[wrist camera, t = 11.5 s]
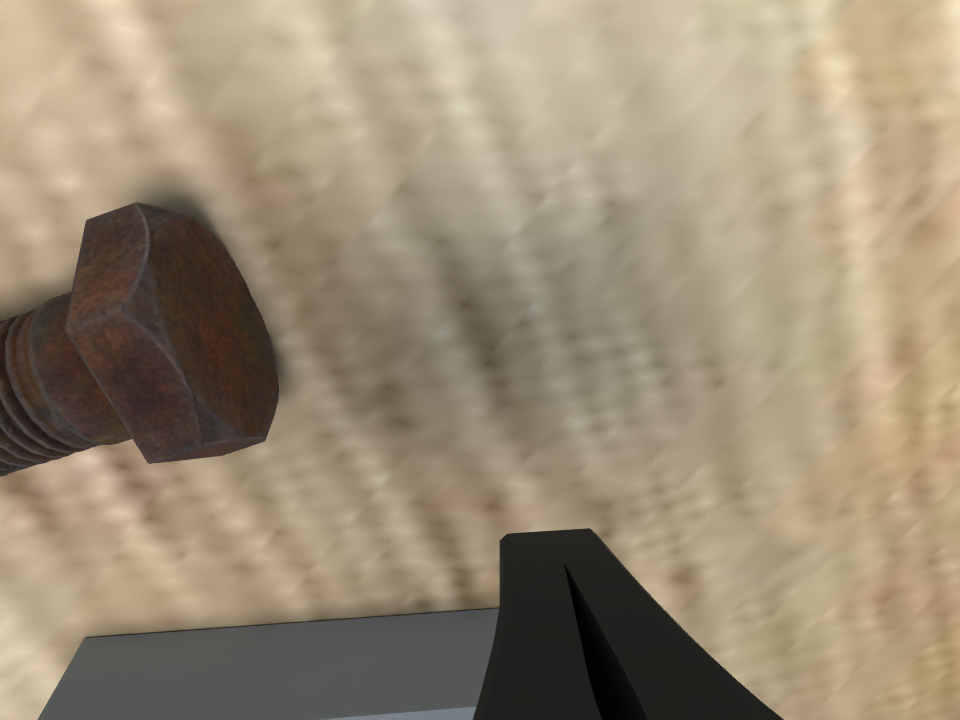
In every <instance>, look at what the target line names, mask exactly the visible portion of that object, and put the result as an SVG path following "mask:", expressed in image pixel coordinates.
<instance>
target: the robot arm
mask: <svg viewBox="0 0 960 720" xmlns="http://www.w3.org/2000/svg"><path fill="white" fill-rule="evenodd" d="M473 720H784V719H782V718H781V717H780V716H778V715H777V714H776V713H775V712H773V711H772V710H771V709H770V708H768V707H767V706H766V705H765V704H764V703H763V702H761V701H760V700H759V699H758V698H757V697H755V696H754V695H753V694H752V693H751V692H750V691H749V690H747V689H746V688H745V687H744V686H743V685H742V684H741V683H739V682H738V681H737V680H736V679H735V678H734V677H733V676H732V675H731V674H730V673H729V672H727V671H726V670H725V669H724V668H723V667H722V666H721V665H720V664H719V663H718V662H717V661H715V660H714V659H713V658H712V657H711V656H710V655H709V654H708V653H707V652H706V651H705V650H704V649H703V648H702V647H701V646H700V645H699V644H698V643H697V642H696V641H695V640H693V639H692V638H691V637H690V636H689V635H688V634H687V633H686V632H685V631H684V630H683V628H682V627H681V626H680V625H679V624H678V623H677V622H676V621H675V620H674V619H673V618H672V617H671V616H670V615H669V614H668V613H667V612H666V611H665V610H664V609H663V608H662V607H661V606H660V605H659V604H658V603H657V602H656V601H655V600H654V599H653V598H652V597H651V595H650V594H649V593H648V592H647V591H646V590H645V589H644V588H643V587H642V586H641V585H640V583H639V582H638V581H637V580H636V579H635V578H634V577H633V576H632V575H631V574H630V572H629V571H628V570H627V569H626V568H625V567H624V566H623V565H622V563H621V562H620V561H619V560H618V559H617V558H616V556H615V555H614V554H613V553H612V552H611V551H610V550H609V548H608V547H607V546H606V545H605V544H604V543H603V541H602V540H601V539H600V538H599V537H598V536H597V534H595V533H594V532H593V531H592V530H591V529H590V528H588V529H573V530H557V531H542V532H527V533H511V534H507V535H506V536H504V537H503V538H502V539H501V540H500V607H499V612H498V618H497V624H496V630H495V635H494V641H493V645H492V650H491V654H490V658H489V662H488V666H487V670H486V673H485V677H484V681H483V685H482V689H481V693H480V697H479V700H478V704H477V707H476V710H475V713H474V717H473Z"/></svg>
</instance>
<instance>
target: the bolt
mask: <svg viewBox="0 0 960 720" xmlns="http://www.w3.org/2000/svg"><path fill="white" fill-rule="evenodd" d="M278 395H279V384H278V377H277V372H276V368H275V363H274V359H273V354H272V350H271V345H270V341H269V337H268V334H267V331H266V328H265V325H264V322H263V319H262V316H261V314H260V312H259V310H258V308H257V306H256V304H255V302H254V300H253V298H252V296H251V294H250V292H249V290H248V287H247V285H246V283H245V281H244V279H243V277H242V275H241V273H240V272H239V270H238V268H237V267H236V265H235V264H234V262H233V261H232V259H231V258H230V257H229V255H228V254H227V252H226V251H225V249H224V248H223V247H222V246H221V245H220V244H219V243H218V241H217V240H216V239H215V238H214V237H213V236H212V235H211V233H210V232H209V231H208V230H207V229H206V228H205V227H204V225H203V224H202V223H200V222H199V221H198V220H196V219H195V218H193V217H191V216H189V215H187V214H185V213H183V212H179V211H176V210H172V209H169V208H165V207H160V206H154V205H148V204H142V203H137V202H136V203H133V204H130V205H127V206H125V207H122V208H119V209H116V210H113V211H110V212H108V213H105V214H102V215H99V216H96V217H93V218H91V219H88V220H86V223H85V228H84V233H83V238H82V243H81V248H80V253H79V258H78V263H77V268H76V273H75V278H74V283H73V289H72V292H70V293H67V294H64V295H61V296H58V297H56V298H53V299H51V300H49V301H47V302H45V303H44V304H43V305H42V306H41V307H40V308H38V309H37V310H33V311H31V312H28V313H26V314H24V315H20V316H15V317H12V318H10V319H8V320H5V321H1V322H0V477H1V476H5V475H7V474H9V473H12V472H15V471H18V470H22V469H25V468H28V467H31V466H34V465H38V464H42V463H46V462H49V461H51V460H56V459H60V458H62V457H65V456H69V455H71V454H73V453H75V452H81V451H84V450H87V449H90V448H91V447H96V446H99V445H112V444H117V443H120V442H123V441H127V440H130V439H133V440H134V442H135V443H136V445H137V447H138V448H139V450H140V451H141V453H142V455H143V456H144V458H145V459H146V461H147V463H149V464H151V463H161V462H171V461H180V460H189V459H198V458H206V457H215V456H222V455H225V454H228V453H231V452H234V451H237V450H240V449H243V448H246V447H249V446H252V445H255V444H258V443H261V442H264V441H265V440H266V437H267V434H268V432H269V429H270V426H271V424H272V421H273V418H274V415H275V411H276V407H277V403H278Z"/></svg>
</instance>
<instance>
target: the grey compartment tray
mask: <svg viewBox="0 0 960 720" xmlns="http://www.w3.org/2000/svg"><path fill="white" fill-rule="evenodd" d="M498 612H499V608H497V609H483V610H469V611H455V612H441V613H428V614H414V615H400V616H386V617H372V618H358V619H344V620H330V621H316V622H302V623H288V624H275V625H261V626H247V627H233V628H219V629H205V630H191V631H177V632H163V633H149V634H135V635H122V636H108V637H94V638H84V640H83V642H82V643H81V645H80V647H79V649H78V650H77V652H76V654H75V656H74V657H73V659H72V661H71V663H70V664H69V666H68V668H67V669H66V671H65V673H64V675H63V676H62V678H61V680H60V682H59V683H58V685H57V687H56V689H55V690H54V692H53V694H52V696H51V697H50V699H49V701H48V703H47V704H46V706H45V708H44V709H43V711H42V713H41V715H40V716H39V718H38V720H473V717H474V713H475V710H476V707H477V704H478V700H479V697H480V693H481V689H482V685H483V681H484V677H485V673H486V670H487V666H488V662H489V658H490V654H491V650H492V645H493V641H494V635H495V630H496V624H497V618H498Z"/></svg>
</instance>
